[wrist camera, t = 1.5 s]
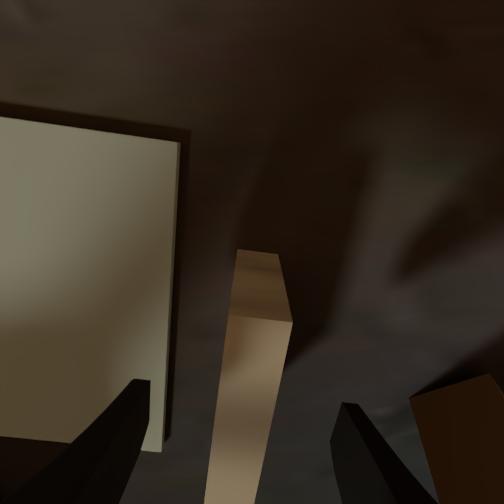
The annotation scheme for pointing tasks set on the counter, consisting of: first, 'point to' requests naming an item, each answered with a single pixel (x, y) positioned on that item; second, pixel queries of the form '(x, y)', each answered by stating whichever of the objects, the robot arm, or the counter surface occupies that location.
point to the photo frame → (464, 440)
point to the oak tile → (248, 377)
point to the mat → (83, 275)
